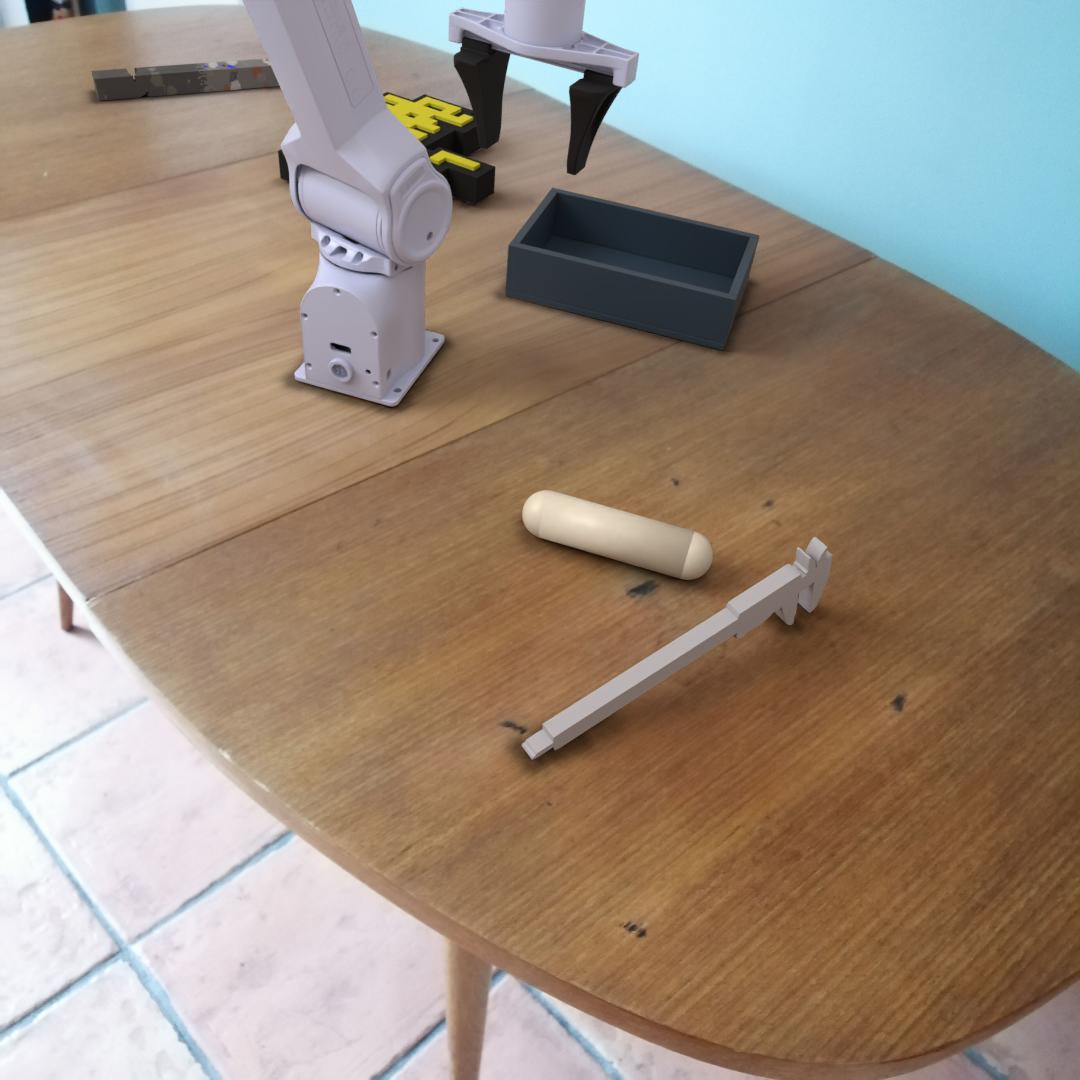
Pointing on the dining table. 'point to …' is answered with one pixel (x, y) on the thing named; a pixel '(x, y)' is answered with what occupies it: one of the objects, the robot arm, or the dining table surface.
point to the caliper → (695, 645)
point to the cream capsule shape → (618, 534)
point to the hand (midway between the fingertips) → (532, 157)
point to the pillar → (183, 79)
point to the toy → (441, 144)
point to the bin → (631, 267)
